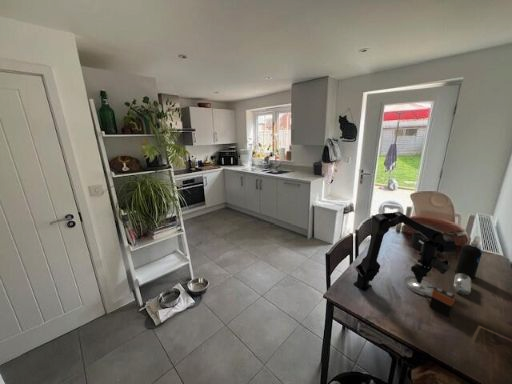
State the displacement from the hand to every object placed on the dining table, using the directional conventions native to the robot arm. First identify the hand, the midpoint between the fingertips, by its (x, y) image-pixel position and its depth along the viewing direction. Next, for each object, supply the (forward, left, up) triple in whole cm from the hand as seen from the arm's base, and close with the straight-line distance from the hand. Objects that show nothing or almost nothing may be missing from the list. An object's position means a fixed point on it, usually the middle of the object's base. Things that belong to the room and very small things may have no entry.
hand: (422, 279), depth 104 cm
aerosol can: (+31, -10, -5) cm, 33 cm away
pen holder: (+44, +16, -5) cm, 47 cm away
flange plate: (0, 0, -5) cm, 5 cm away
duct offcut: (+15, -12, -5) cm, 20 cm away
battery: (-10, -11, -5) cm, 15 cm away
